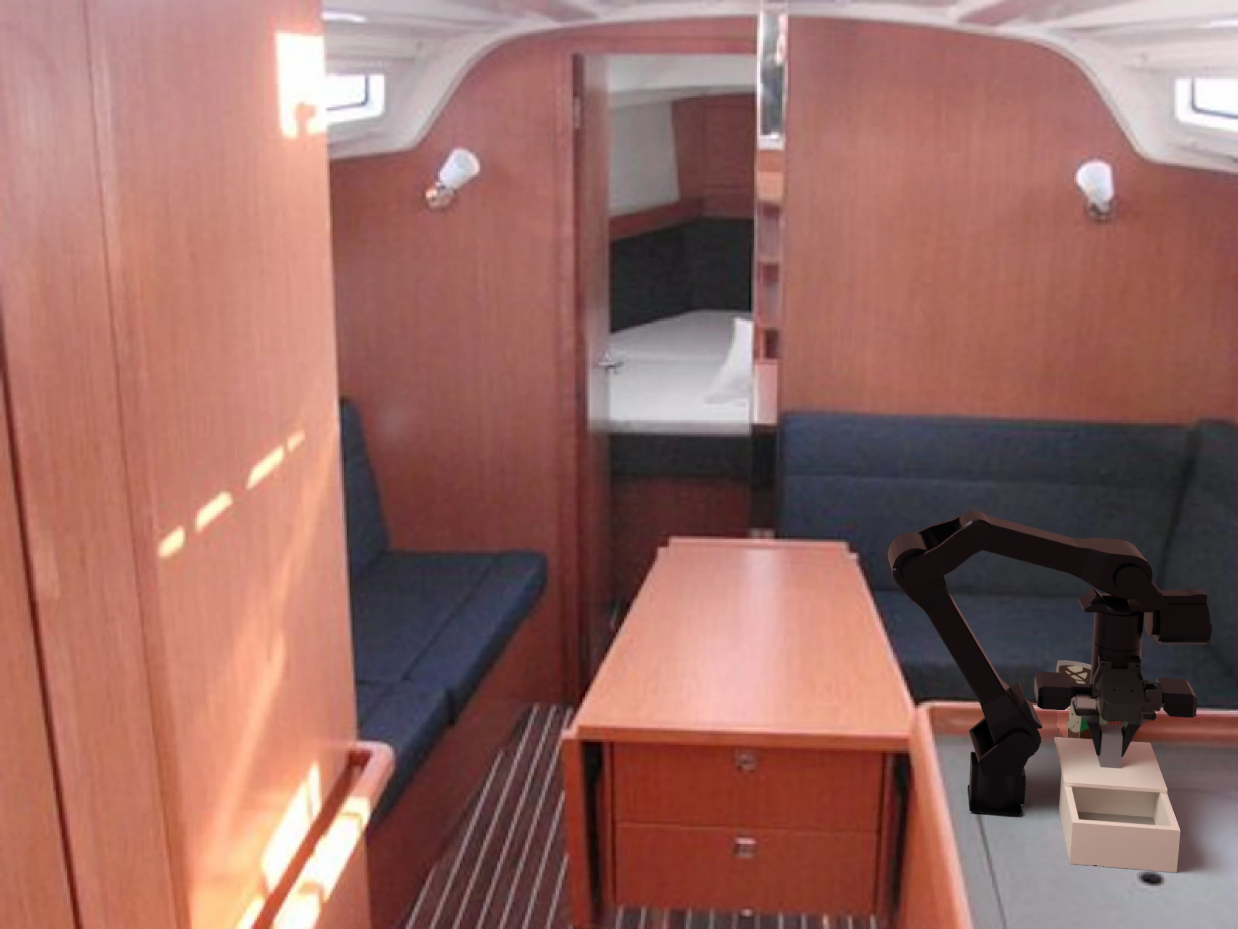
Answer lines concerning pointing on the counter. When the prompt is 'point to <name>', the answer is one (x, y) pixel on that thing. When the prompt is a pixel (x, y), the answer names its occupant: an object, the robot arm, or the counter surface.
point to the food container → (1075, 723)
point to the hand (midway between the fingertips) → (1109, 755)
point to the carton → (1119, 828)
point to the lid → (1109, 763)
